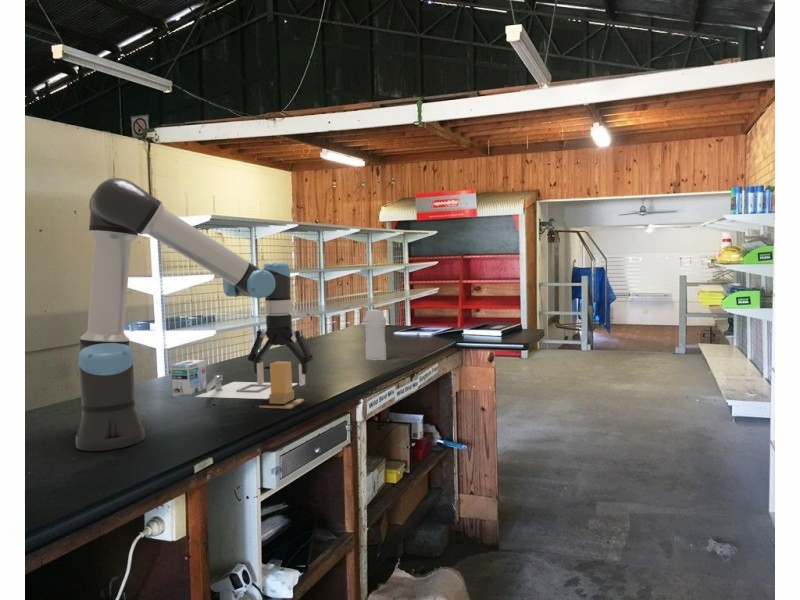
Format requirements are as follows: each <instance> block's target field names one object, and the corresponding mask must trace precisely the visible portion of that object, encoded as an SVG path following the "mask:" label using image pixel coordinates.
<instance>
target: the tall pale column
mask: <svg viewBox="0 0 800 600" xmlns="http://www.w3.org/2000/svg"><path fill="white" fill-rule="evenodd" d="M363 324H364V327H365V328H364V329H365V339H366V340H365V360H366V359H367V361H387V345H386V344H387V343H386V336H385V335H386V326H387V318H386V317H385V316H384V311H383V310H380V309H376V308H375V309H369V310H366V313H365V316H364V317H363Z"/></svg>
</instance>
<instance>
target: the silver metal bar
mask: <svg viewBox="0 0 800 600" xmlns="http://www.w3.org/2000/svg"><path fill="white" fill-rule="evenodd" d="M223 378H224V376H223V374H216V375H213V379H212V380H210V382H209V383H206V386H205V387H204V388H203V390H202V394H203V393H207V392H208V391H211V390H212V388H213V387H215V384H216V383H217V382H218V381H221V382H222V381H224V379H223Z"/></svg>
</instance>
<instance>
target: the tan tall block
mask: <svg viewBox="0 0 800 600" xmlns="http://www.w3.org/2000/svg"><path fill="white" fill-rule="evenodd" d="M269 376H270V383H271V394H270V395H269V398H268V399H269V404H271V405H286V404H287V403H289V402H291V401H293V400H295V390H294V389H293V386H292V383H293V375H292V361H278V360H277V361H274V362H272V363H269Z"/></svg>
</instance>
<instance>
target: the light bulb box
mask: <svg viewBox="0 0 800 600" xmlns="http://www.w3.org/2000/svg"><path fill="white" fill-rule="evenodd" d="M170 366H171V382H172V385H171V386H172V397H173V398H178V397H180V396H184V395H186V396H187V395H193V394H195V393H198V392H200V391H203V388H204V387H205V386H206V385H207V371H206V369H207V366H206V360H205V359H187V360H184V361H180V362H177V363H173V364H171V365H170Z"/></svg>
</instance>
